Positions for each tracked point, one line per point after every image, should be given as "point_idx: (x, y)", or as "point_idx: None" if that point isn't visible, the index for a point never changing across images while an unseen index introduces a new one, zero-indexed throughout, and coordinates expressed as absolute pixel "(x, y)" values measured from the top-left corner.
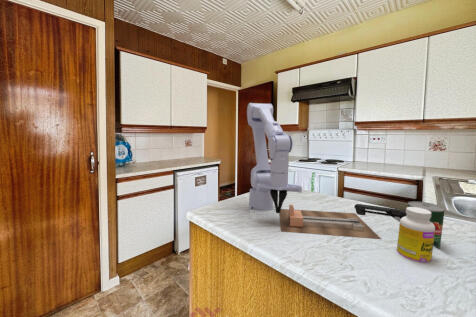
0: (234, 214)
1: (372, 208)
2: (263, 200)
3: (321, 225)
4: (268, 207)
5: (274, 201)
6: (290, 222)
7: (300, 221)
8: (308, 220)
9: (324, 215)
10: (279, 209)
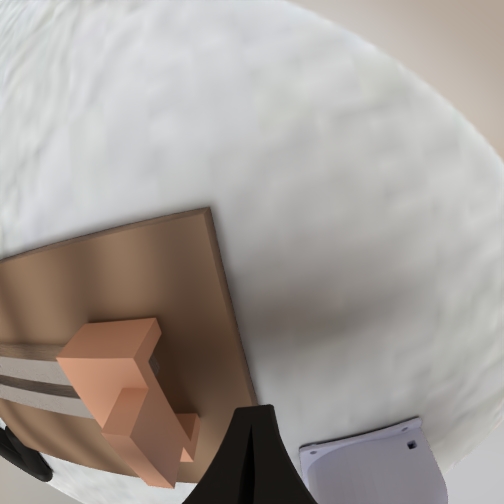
0: (480, 373)
1: (13, 457)
2: (367, 495)
3: (24, 348)
4: (331, 472)
5: (297, 494)
6: (144, 332)
7: (80, 342)
8: (65, 375)
9: (73, 443)
10: (237, 431)
